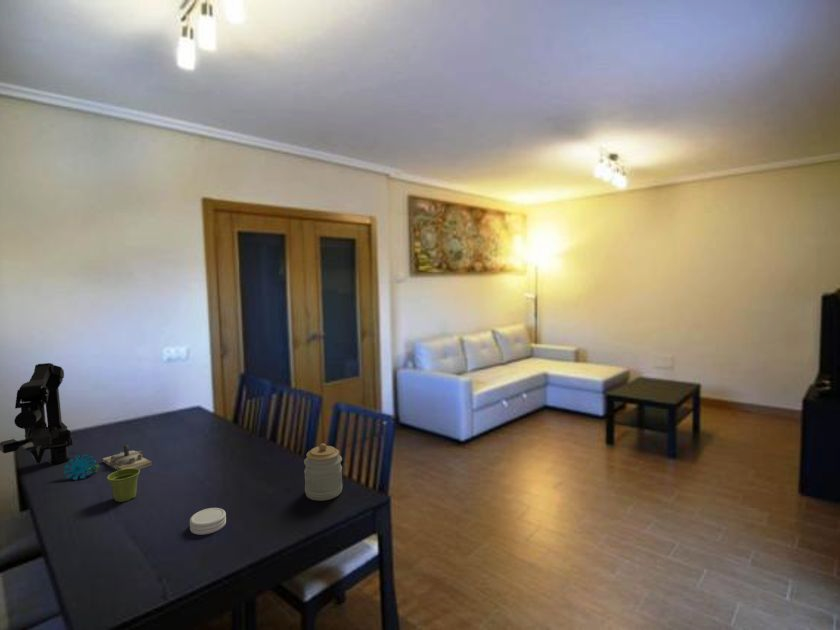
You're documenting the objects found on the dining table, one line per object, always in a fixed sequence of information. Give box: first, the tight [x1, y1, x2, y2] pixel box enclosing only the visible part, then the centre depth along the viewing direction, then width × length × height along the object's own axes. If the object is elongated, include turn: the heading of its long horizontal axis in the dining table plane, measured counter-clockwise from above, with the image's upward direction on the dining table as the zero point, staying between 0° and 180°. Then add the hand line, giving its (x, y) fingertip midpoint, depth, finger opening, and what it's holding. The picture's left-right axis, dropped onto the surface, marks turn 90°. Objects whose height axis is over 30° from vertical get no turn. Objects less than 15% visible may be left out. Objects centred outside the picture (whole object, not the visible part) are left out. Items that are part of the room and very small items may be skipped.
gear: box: [63, 453, 100, 481], centre depth 174 cm, size 11×6×10 cm
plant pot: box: [106, 468, 141, 503], centre depth 155 cm, size 9×9×9 cm
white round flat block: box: [189, 507, 227, 536], centre depth 138 cm, size 10×10×4 cm
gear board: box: [102, 444, 153, 471], centre depth 184 cm, size 20×11×8 cm, turn 55°
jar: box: [303, 443, 343, 502], centre depth 159 cm, size 13×13×18 cm
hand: (38, 463), depth 160 cm, fingers closed
